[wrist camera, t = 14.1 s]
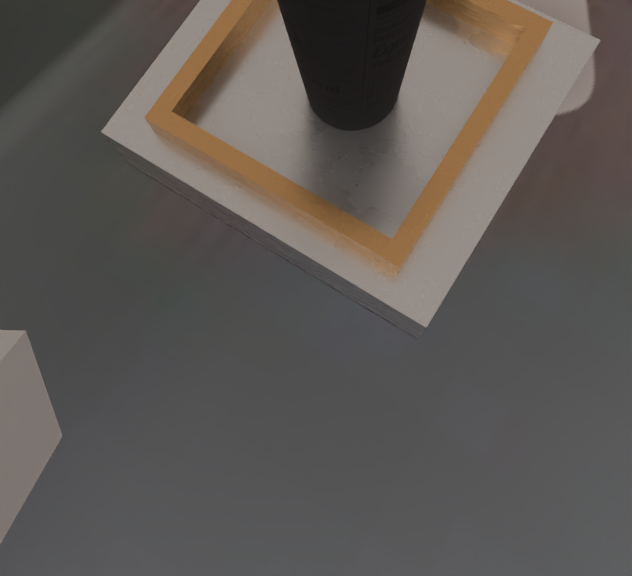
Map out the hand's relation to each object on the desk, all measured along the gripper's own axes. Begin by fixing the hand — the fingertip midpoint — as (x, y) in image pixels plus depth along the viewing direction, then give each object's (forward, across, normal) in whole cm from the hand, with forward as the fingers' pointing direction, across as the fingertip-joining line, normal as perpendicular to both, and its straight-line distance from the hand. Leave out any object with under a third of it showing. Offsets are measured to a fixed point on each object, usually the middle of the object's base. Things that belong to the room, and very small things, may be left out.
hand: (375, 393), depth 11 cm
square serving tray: (+27, 0, -2) cm, 27 cm away
